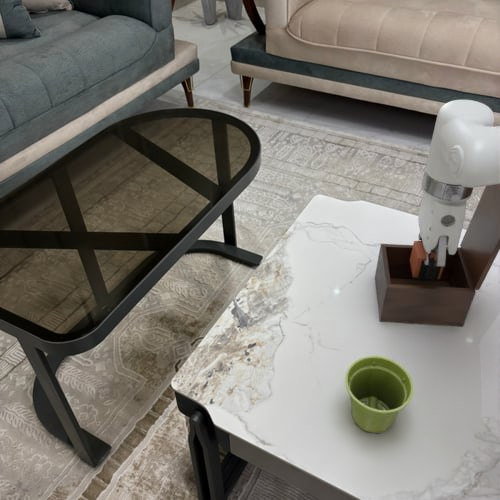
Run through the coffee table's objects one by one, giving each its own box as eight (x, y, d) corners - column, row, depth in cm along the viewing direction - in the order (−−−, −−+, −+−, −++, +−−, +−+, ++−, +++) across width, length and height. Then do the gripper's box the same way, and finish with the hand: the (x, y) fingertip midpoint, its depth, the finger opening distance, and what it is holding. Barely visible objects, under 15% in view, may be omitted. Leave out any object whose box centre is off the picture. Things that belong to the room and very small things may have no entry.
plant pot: (370, 456, 71) (379, 424, 66) (327, 408, 78) (332, 375, 72) (416, 423, 75) (428, 389, 70) (372, 379, 81) (379, 345, 76)
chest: (379, 321, 91) (386, 287, 85) (374, 277, 99) (380, 243, 94) (463, 326, 89) (476, 291, 83) (450, 281, 98) (461, 247, 92)
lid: (511, 215, 73) (543, 219, 73) (491, 173, 82) (519, 176, 82) (474, 289, 83) (502, 293, 83) (459, 245, 92) (485, 248, 92)
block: (435, 261, 91) (441, 242, 88) (439, 279, 87) (445, 259, 84) (409, 260, 91) (414, 240, 88) (412, 277, 88) (417, 258, 85)
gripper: (486, 215, 70) (456, 304, 82) (461, 155, 83) (438, 239, 95) (432, 213, 71) (409, 302, 83) (415, 153, 84) (398, 238, 96)
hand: (425, 268), depth 89 cm, fingers closed on block, 4 cm apart
